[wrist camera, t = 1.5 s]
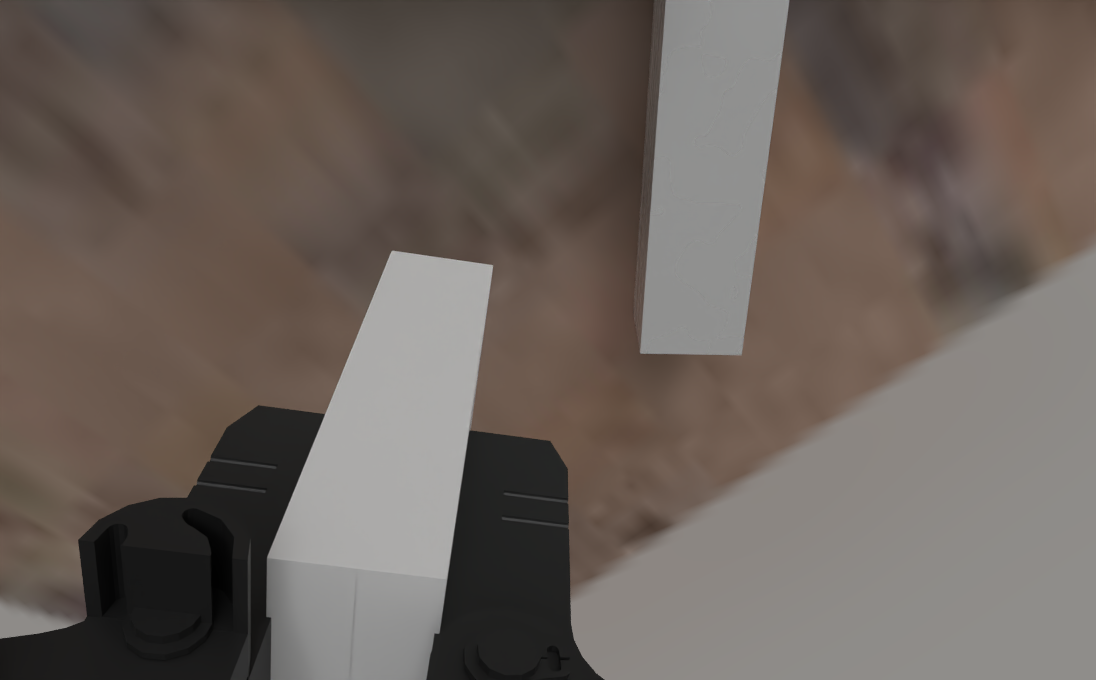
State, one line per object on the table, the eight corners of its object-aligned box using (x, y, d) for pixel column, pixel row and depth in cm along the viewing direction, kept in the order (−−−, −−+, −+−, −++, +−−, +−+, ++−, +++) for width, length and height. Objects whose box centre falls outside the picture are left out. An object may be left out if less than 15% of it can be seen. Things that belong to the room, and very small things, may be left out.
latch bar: (640, -363, 19) (653, -391, 17) (844, -359, 20) (886, -388, 17) (606, 310, 27) (611, 356, 25) (752, 312, 27) (772, 359, 25)
